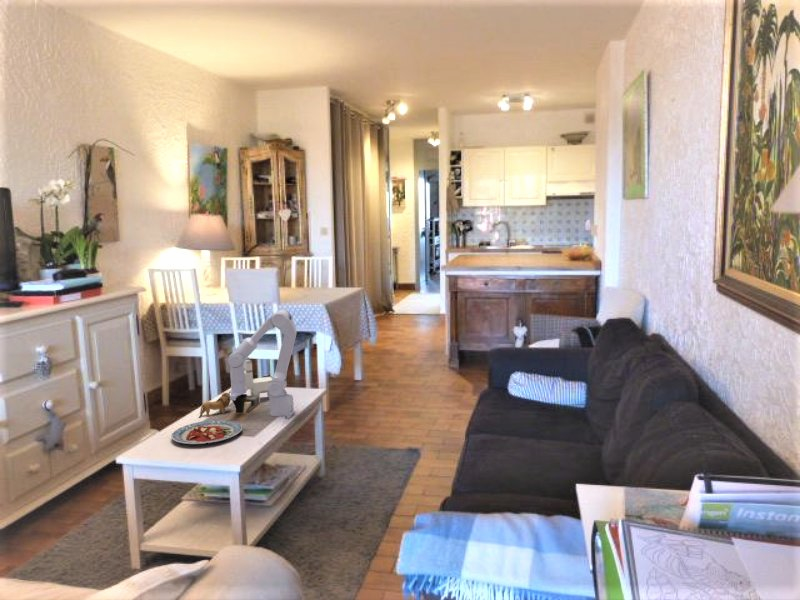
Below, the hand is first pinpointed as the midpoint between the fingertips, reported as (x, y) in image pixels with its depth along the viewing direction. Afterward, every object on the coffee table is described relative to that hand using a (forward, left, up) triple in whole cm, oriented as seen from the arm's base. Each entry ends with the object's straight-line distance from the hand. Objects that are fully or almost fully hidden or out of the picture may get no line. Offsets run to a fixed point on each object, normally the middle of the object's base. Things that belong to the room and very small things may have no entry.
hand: (240, 412), depth 257 cm
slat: (0, -7, -1) cm, 7 cm away
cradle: (0, -4, -2) cm, 4 cm away
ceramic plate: (+4, +23, -2) cm, 23 cm away
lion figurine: (+11, -1, -2) cm, 11 cm away
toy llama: (-2, -21, -2) cm, 21 cm away
